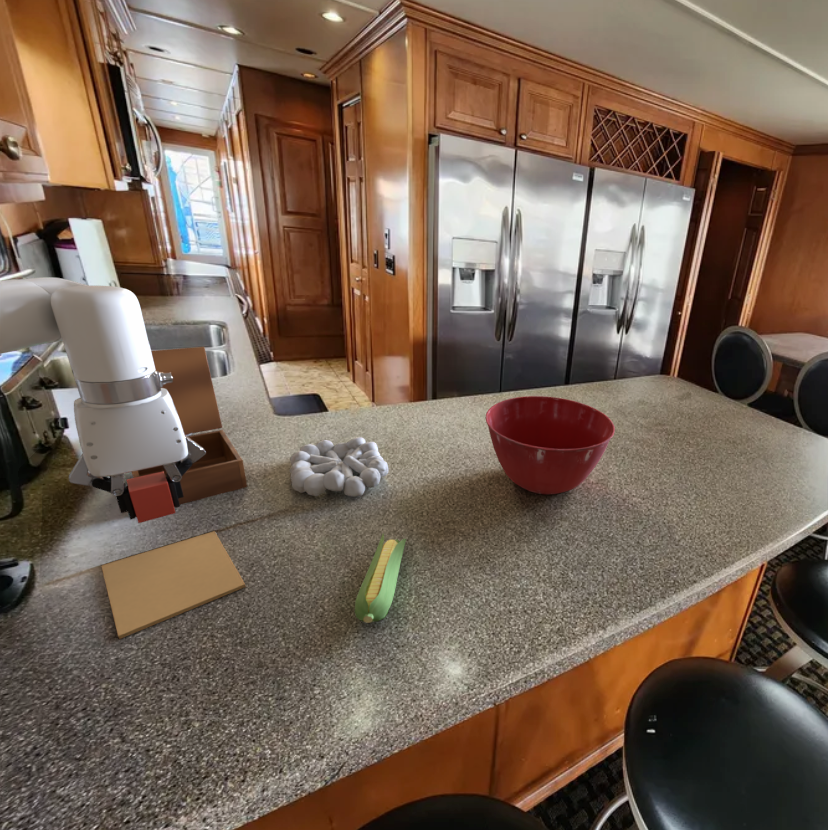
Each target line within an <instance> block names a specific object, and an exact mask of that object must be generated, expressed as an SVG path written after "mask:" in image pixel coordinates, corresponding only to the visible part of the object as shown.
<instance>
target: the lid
mask: <svg viewBox="0 0 828 830" xmlns="http://www.w3.org/2000/svg"><path fill="white" fill-rule="evenodd" d="M151 353H152V357H153V361H154V365H155V370H156V371H159V373H171V376H172V379H173V382H172V383H166V384H163V387H160V388H165V389H167V391H168V392H169V394H170V396H171V398H172V400H173V403H174V405H175V408H176V410H177V413H178V416H179V419H180V422H181V425H182V428H183V432H184V435H186V434H191V433H192V434H198V433H203V432H209V431H214V430H218V429H219V430H220V429H223V424H222V420H221V415H220V411H219V410H220V409H219V406H218V402H217V397H216V393H215V392H216V391H215V387H214V384H213V379H212V374H211V371H210V366H209V361H208V357H207V351H206V347H205V346H194V347H181V348H180V347H179V348H171V349H170V348H169V349H167V348H166V349H157V350H151ZM192 434H191V435H192Z"/></svg>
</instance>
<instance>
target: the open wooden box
mask: <svg viewBox="0 0 828 830" xmlns="http://www.w3.org/2000/svg"><path fill="white" fill-rule="evenodd" d="M187 437H189V438H190V439H191V440H193V441H194V442H196V443H197V444H198V445H200V446H201V447H203V448H204V450H205V452H206V454H205V455H204V456H203V457H201V458H200V459H199V460H198V461H196V462H194V463H193V464H192V466H191V467H190V468H189V469H188V470H187V471H186V472H185V474H184V475H183V476H182V479H181V480H180V483H181V487H182V491H183V495H184V497H182V498H179V499H178V500H179V504H180V506H181V505H184V504H188V503H192V502H196V501H199V500H203V499H207V498H211V497H215V496H218V495H222V494H226V493H230V492H234V491H238V490H241V489H245V488H248V481H247V476H246V469H245V465H244V460H243V458H242V457H241V455H240V454H239V452H238V451H237V450H236V447H235V446H234V445H233V443H232V442H231V440H230V439H229V437H228V436H227V435H226V433H225V431H224V430H223V429H219V430H218V429H217V430H211V431H206V432H200V433H195V434H191V435H189V436H187ZM188 453H189V451H188ZM175 463H177V462H175ZM158 472H164V474H165V477H166V474H167V472H166V470H165V468H164V467H163V465H161V466H157V467H152V468H147V469H143V470H138V471H133V472H131V475H132V478H136V477H140V476H145V475H149V474H154V473H158Z"/></svg>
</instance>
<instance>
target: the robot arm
mask: <svg viewBox="0 0 828 830" xmlns="http://www.w3.org/2000/svg"><path fill="white" fill-rule="evenodd" d="M58 342H62V344H63V347H64V350H65V354H66V356H67V360H68V363H69V365H70V369H71V373H72V375H73V378H74V381H75V385H76V388H77V391H78V394H79V396H80V397H79V398H76V399H75V400H73V415H74V423H75V429H76V432H77V436H78V441H79V445H80V448H81V452H82V453H81V455H80V456H79V458H78V459H77V461H76V463H75V464H74V465H73V467H72V470H71V471H70V473H69V475H68V481H69V482H70V484H75V485H81V486H87V487H88V486H90V487H93V488H94V489H98V490H101V491H104V492H107V493H110V494H111V495H112V496H114V497H115V498H116V501H117V504H118V507H119V511H120V514H123V513H128V516H129V520H130V521H131V520H134V519H136V518H137V517H136V513H135V510H134V507H133V503H132V500H131V497H130V493H129V489H128V485H127V483H126V482H125V474H129V473H132V472H133V471H138V470H143V469H147V468H152V467H157V466H161V465H163V467H164V468H165V470H166V472H167V474H166V480H167V482H168V486H169V490H170V493H171V497H172V501H173V505H174V508H180V507H181V505H180V504H179V500H178V499H179V498H182V497H184V495H183V491H182V487H181V483H180V480H181V479H182V476H183V475H184V474H185V472H186V471H187V470H188V469H189V468H190V467H191V466H192V464H193V463H194V462H196V461H198V460H199V459H200V458H201V457H203V456H204V455H205V454H206V452H205V450H204V448H203V447H201V446H200V445H198V444H197V443H196V442H194V441H193V440H191V439H190V438H189V437H187V436H186V435H184V432H183V428H182V425H181V422H180V419H179V416H178V413H177V410H176V408H175V405H174V403H173V400H172V398H171V396H170V394H169V392H168V391H167V389H165V388H160V387H163V384H166V383H172V382H173V379H172V376H171V373H159V371H156V370H155V365H154V361H153V357H152V353H151V351H152V349H151V345H150V341H149V338H148V333H147V329H146V325H145V321H144V317H143V311H142V309H141V305H140V302H139V299H138V298H137V295H136V294H135V293H134V292H132V291H131V290H129V289H127V288H123V287H120V286H115V285H113V286H112V285H89V284H85V283H82V282H77V281H74V280H70V279H66V278H60V277H51V276H50V277H49V276H42V277H41V276H39V277H31V278H30V277H29V278H20V279H19V278H18V279H17V278H15V279H3V280H0V355H2V354H6V353H7V354H8V353H12V352H15V351H20V350H24V349H29V348H32V347H36V346H42V345H45V344H46V345H47V344H53V343H58ZM188 451H189V453H188ZM175 462H177V463H175Z"/></svg>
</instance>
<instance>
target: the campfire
mask: <svg viewBox="0 0 828 830" xmlns="http://www.w3.org/2000/svg"><path fill="white" fill-rule="evenodd" d="M378 447H379V446H378V444H377V443H376V442H375V441H366V439H365V438H364V437H362V436H356V437H352V438H350V440H348V441H345V442H344V441H343V442H338V443H336V444H335V445H334V443H333V442H332V441H331V440H328V439H322V440H320V441H318V442H317V443H315V444H312V443H307V444H304V445H302V446H300V447H299V450H297V451H295V452H293V453H292V454H291V455H290V456H289V463H290V468H289V472H290V478H289V479H290V481H291V487H292V489H293V490H294V491H295V492H298V493H301V494H302V493H305V492H306V494H307V495H309V496H313V497H319V496H320V495H322V494H324V493H325V492H326V490H328V491H332V492H342V491H343V494H344V495H346V496H347V497H353V498H355V497H361V496H363V495H364V493H365V491H366V488H368V489H369V488H371V489H372V488H375V487H377V486H378V485H379V484H380V482H381V478H383V477H386V476H387V475H388V474H389V465H388V462H387V461H385V459H384V458H383V456H382V455H381V454H380V452H379V448H378ZM353 471H354V472H357V474H359V476H357V475H354V473H353Z"/></svg>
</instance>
